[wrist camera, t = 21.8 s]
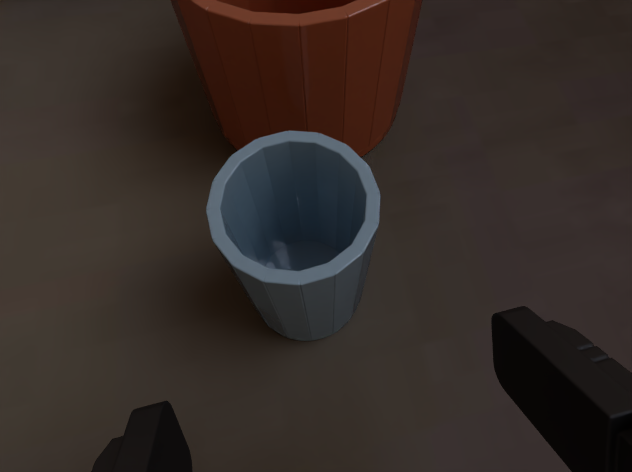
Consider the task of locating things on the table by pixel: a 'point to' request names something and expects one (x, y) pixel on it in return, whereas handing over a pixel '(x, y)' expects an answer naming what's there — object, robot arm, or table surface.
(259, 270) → the enamel cup
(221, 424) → the table surface
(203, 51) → the flower pot
